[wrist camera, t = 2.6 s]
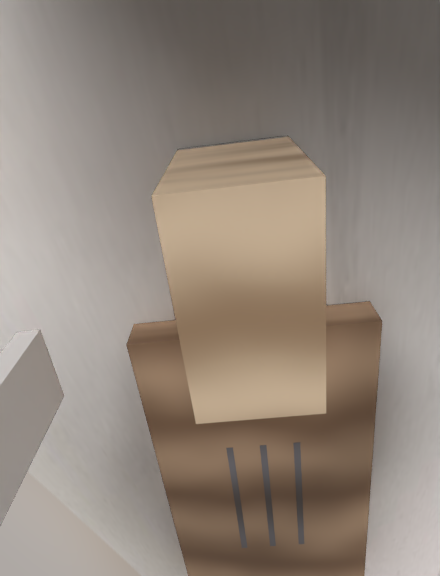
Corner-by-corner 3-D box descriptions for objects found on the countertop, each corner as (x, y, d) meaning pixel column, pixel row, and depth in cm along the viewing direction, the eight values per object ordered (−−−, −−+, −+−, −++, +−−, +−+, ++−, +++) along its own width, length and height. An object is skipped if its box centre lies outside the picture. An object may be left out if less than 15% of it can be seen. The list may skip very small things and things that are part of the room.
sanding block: (178, 148, 19) (151, 196, 12) (287, 135, 19) (325, 175, 12) (204, 316, 23) (195, 424, 16) (294, 307, 23) (326, 413, 16)
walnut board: (133, 324, 24) (126, 345, 22) (369, 301, 23) (382, 321, 21) (195, 570, 35) (194, 597, 33) (355, 560, 34) (363, 588, 32)
